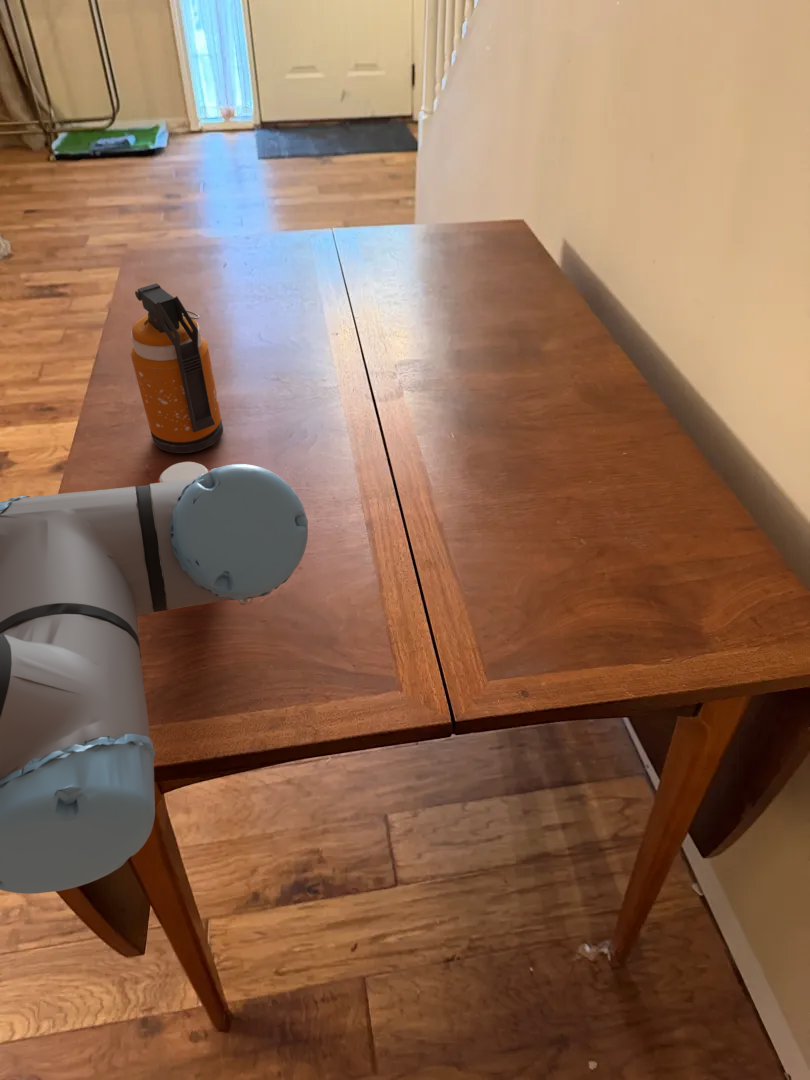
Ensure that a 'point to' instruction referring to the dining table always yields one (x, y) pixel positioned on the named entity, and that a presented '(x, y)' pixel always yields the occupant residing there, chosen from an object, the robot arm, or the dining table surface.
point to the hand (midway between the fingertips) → (207, 564)
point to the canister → (174, 374)
